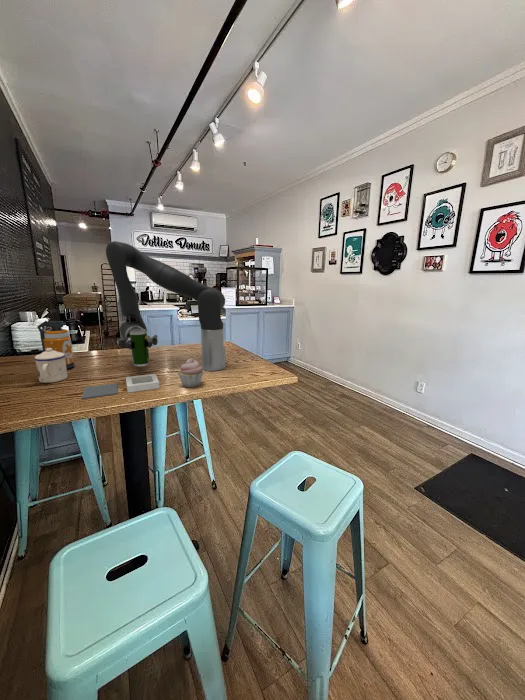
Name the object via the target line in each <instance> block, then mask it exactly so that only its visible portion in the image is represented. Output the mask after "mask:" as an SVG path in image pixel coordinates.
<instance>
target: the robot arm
mask: <svg viewBox="0 0 525 700" xmlns="http://www.w3.org/2000/svg"><path fill="white" fill-rule="evenodd" d="M105 254H106V259H107V263H108V266H109V268H110V270H111V274H112V277H113V280H114V282H115V286H116V290H117V294H118V298H119V305H120V310H121V314H122V316H123V317H126V318H134V319H135V320H136V321H127V322H123V323H122V324H120V326H119V327H120V328H119V332H120V335H121V336H122V338H121V337H117V338H116V343H117V346H118V347H119V348H121V349H124V348H125V347H126V348H127V349H129V350H130V351H132V350H131V349H132V347H131V341H130V330H135V329H145V330H146V332H147V333H148V329H147V326H146V323H145V321H144V319H143V317H142V315H141V314H142V313H141V312H140V306H139V299H138V294H137V292H136V290H135V289H134V286H133V284H132V282H131V280H130V278H129V274H128V272H127V271H128V270H127V267H129V268H130V269H134V270H136V271H138V272H141V273H143V274H144V275H145V276H146V277H147V278H148V279H150V281H152V282H153V283H154V284H155V285H158V286H159V287H161V288H163V289H165V290H166V291H170V292H172V293H175V294H178V295H181V296H185V297H188V298H191V299H193V300H196V301H197V315H198V321H199V324H200V342H201V344H200V345H201V346H200V347H201V367H202V370H204V371H207V372H208V371H209V372H216V371H221V370H223V369H226V346H224V322H223V321H222V314H221V312H222V311H221V310H222V309H223V308H224V306H225V305H226V298H225V295H224V294H223V293H222V292H221V290H219V289H217V288H214V287H211V286H208V285H206V284H203V283H201V282H199V281H197V280H196V279H194V278H192V277H191V276H189V275H187V274H186V273H184V272H182V271H180V270H178V269H176V268H175V267H172V266H170V265H169V264H166V263H165V262H162V261H160V260H157V259H155V258H152V257H150V256H149V255H146V254H145V253H144V252H142V251H140V250H139V249H137V248H136V247H134V246H133V245H131V244H130V243H126V242H122V241H121V242H120V241H110V242H109V243H108V244H107V245H106V248H105ZM147 340H148V349H150V348H152V347H153V346H157V345H158V342H159V339H158V335H157V334H154V335H152V336H151V337H150V335H148V334H147Z"/></svg>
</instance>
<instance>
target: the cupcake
mask: <svg viewBox="0 0 525 700" xmlns="http://www.w3.org/2000/svg"><path fill="white" fill-rule="evenodd" d="M204 374H205V370H203V369H202V365H200V362H199V361H197V360H196V359H194V358H192V357H191V358H189V359H187V360H186V361H185V363H183V364H181V366H180V370H179V371H178V372H177V375H178V377H179V378H180V381H181V385H182V386H183V387H184V388H195V387H199V386H201V383H202V378H203V376H204Z"/></svg>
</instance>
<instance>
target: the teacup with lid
mask: <svg viewBox="0 0 525 700" xmlns="http://www.w3.org/2000/svg"><path fill="white" fill-rule="evenodd" d="M34 361H35V367H36V371H37V377H38V380H39V382H40V383H47V384H48V383H56V382H61V381H64V380H66V379H67V378H68V369H66V362H65V354H64V353H62V352H57V351H53V350H52V348H47V349H46V351H45V352H43V351H42V352H41V353H39V354H37V355H35V356H34Z"/></svg>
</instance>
